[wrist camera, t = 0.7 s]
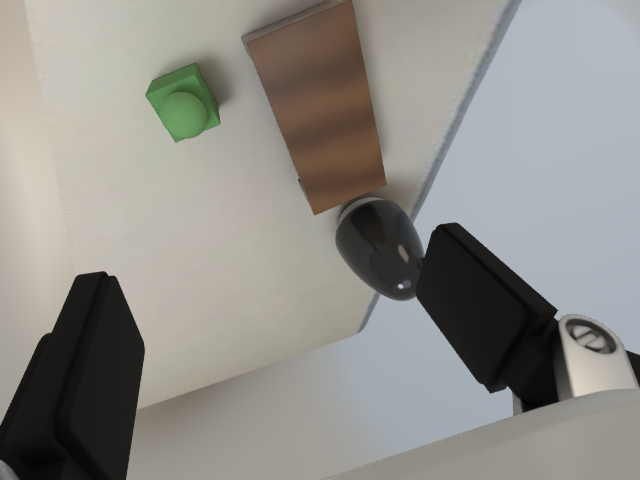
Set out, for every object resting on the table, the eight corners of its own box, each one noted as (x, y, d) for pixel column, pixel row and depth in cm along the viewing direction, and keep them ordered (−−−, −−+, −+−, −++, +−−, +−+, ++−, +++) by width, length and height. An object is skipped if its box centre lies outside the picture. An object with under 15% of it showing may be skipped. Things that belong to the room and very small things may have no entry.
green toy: (151, 80, 31) (139, 106, 24) (195, 62, 31) (194, 83, 24) (178, 125, 34) (173, 157, 27) (218, 108, 34) (222, 137, 27)
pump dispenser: (407, 211, 49) (471, 281, 38) (356, 256, 52) (400, 334, 40) (368, 170, 43) (430, 239, 32) (312, 224, 46) (350, 305, 34)
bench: (239, 33, 30) (246, 42, 26) (329, -4, 31) (352, -2, 26) (302, 190, 42) (314, 215, 38) (367, 162, 42) (387, 184, 38)
